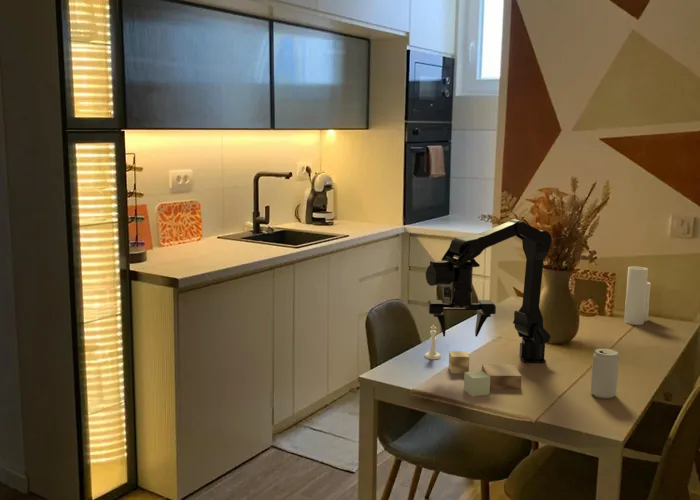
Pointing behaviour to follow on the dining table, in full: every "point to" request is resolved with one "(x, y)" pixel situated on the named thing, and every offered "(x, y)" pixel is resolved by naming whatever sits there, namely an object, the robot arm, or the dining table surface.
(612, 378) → the beverage can
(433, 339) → the chess piece
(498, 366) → the pedestal
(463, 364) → the oak cube
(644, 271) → the vase
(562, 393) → the dining table surface
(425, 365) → the dining table surface
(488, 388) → the sage block
